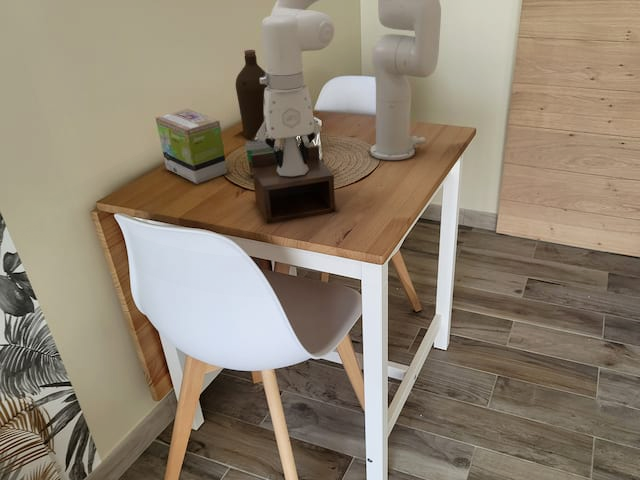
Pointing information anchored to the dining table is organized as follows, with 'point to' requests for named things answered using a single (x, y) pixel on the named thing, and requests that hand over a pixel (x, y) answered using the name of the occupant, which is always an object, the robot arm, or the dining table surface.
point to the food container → (256, 148)
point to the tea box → (192, 145)
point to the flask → (292, 159)
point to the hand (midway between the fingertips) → (292, 163)
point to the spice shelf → (292, 188)
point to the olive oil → (251, 95)
